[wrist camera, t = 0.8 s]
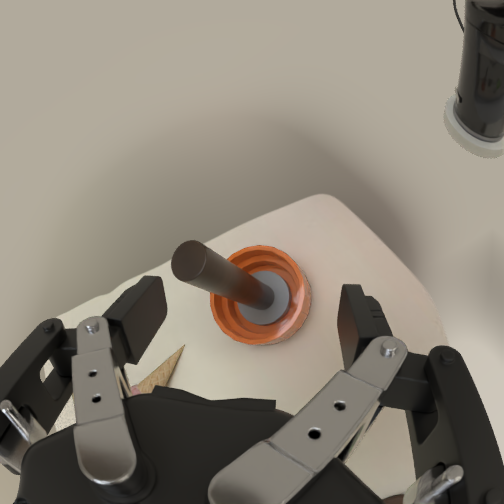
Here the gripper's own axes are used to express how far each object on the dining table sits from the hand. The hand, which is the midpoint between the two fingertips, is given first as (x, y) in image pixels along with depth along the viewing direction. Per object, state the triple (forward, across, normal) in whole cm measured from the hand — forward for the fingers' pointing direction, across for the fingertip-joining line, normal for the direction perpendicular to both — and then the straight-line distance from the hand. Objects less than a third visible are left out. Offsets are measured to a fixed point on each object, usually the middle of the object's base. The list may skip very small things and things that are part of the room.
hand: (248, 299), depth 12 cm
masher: (+17, +1, +11) cm, 20 cm away
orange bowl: (+18, +1, +11) cm, 21 cm away
